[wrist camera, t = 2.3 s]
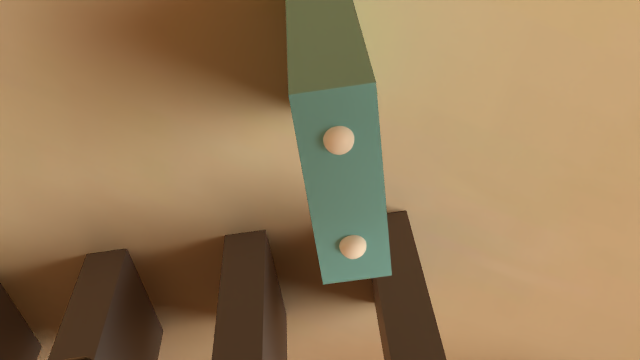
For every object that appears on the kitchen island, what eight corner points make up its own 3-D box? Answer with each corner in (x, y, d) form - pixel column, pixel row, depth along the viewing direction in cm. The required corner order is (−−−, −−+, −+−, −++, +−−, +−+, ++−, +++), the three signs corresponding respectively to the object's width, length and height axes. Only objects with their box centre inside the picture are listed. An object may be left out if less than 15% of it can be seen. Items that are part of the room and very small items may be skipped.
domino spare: (355, 103, 20) (393, 285, 14) (308, 110, 20) (323, 294, 14) (339, -48, 17) (377, 89, 11) (284, -39, 17) (288, 103, 11)
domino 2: (411, 298, 26) (456, 490, 20) (374, 303, 26) (407, 496, 20) (406, 210, 23) (457, 402, 17) (365, 216, 23) (400, 410, 17)
